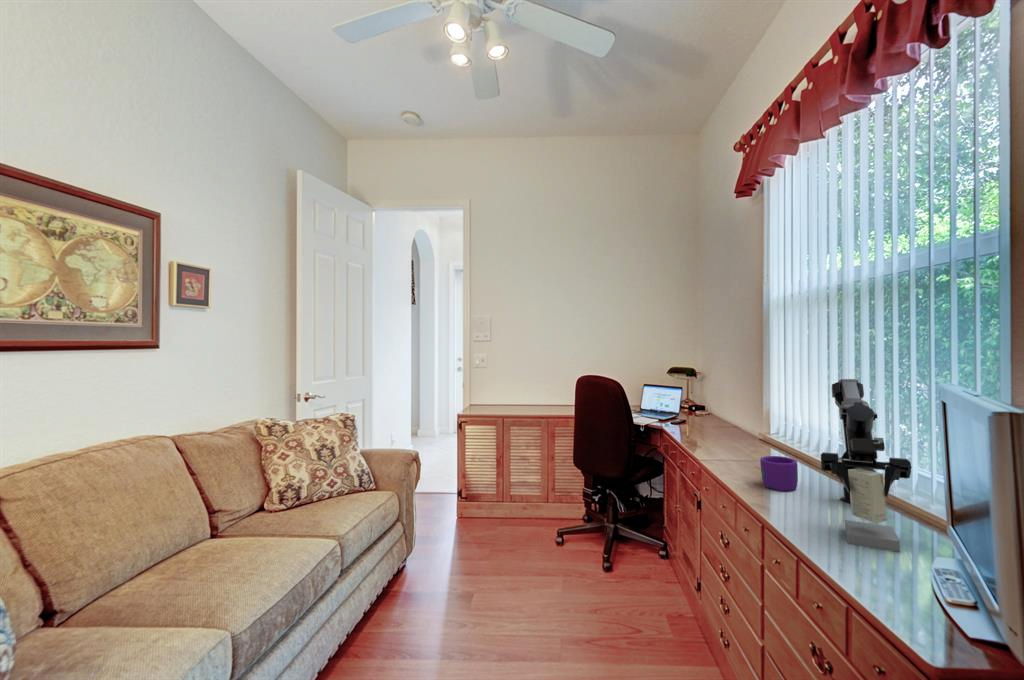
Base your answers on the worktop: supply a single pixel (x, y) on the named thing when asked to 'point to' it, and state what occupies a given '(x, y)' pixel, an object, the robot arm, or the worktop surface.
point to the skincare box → (867, 495)
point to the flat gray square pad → (872, 535)
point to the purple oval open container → (779, 473)
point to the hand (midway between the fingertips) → (867, 493)
